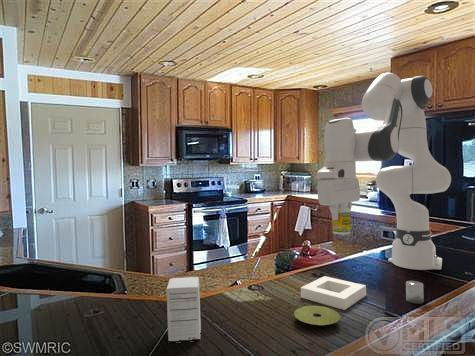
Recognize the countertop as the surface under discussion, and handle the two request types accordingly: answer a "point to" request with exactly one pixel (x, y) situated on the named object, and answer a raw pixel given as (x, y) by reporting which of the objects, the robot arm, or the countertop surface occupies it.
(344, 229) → the supplement bottle
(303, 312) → the green disc
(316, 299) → the bore plate
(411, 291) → the short stub
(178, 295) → the supplement box
